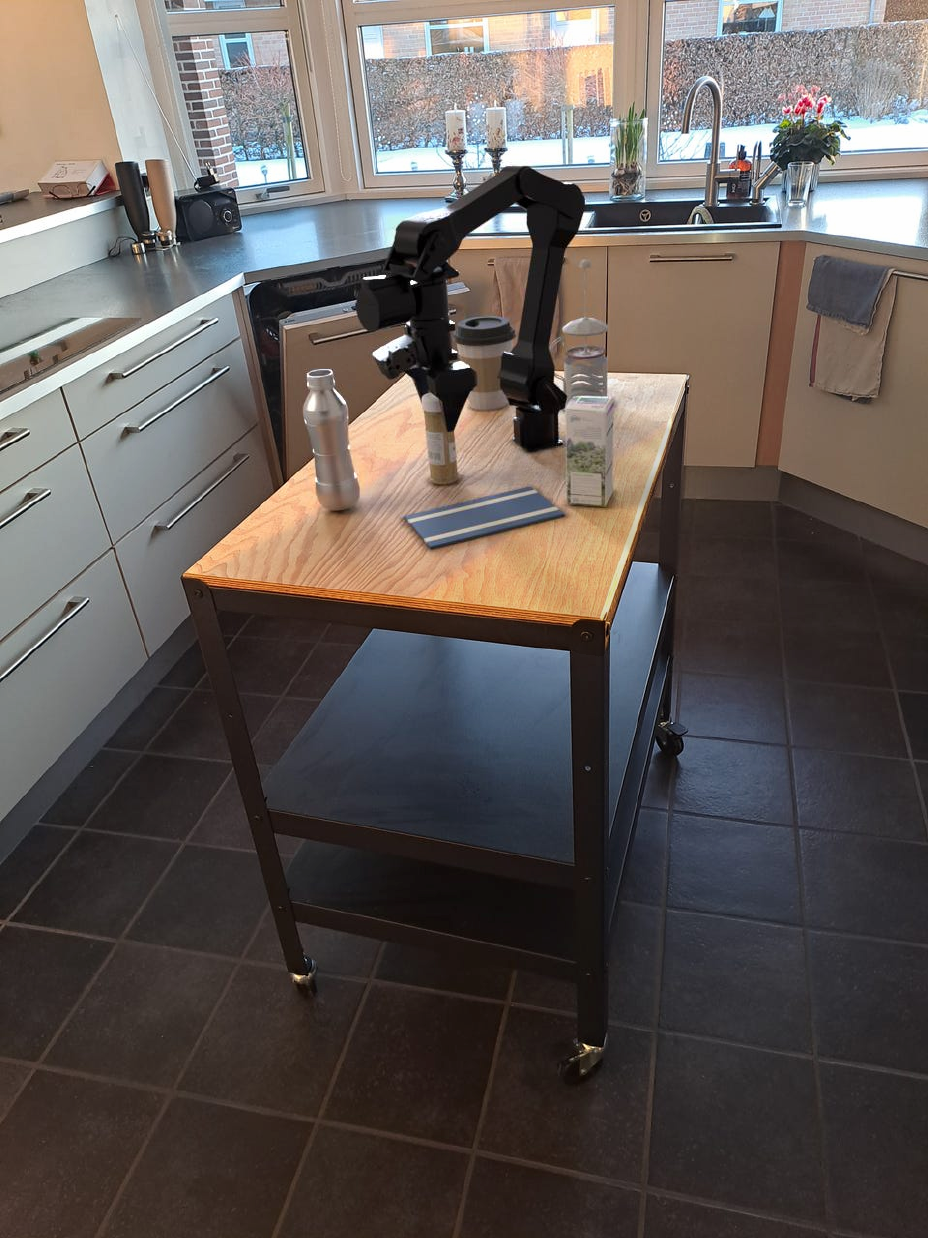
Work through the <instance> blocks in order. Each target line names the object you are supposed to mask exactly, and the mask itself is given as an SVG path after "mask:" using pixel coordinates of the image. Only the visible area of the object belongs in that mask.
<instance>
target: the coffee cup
mask: <svg viewBox="0 0 928 1238" xmlns="http://www.w3.org/2000/svg"><path fill="white" fill-rule="evenodd" d="M516 337H517V334H516V328H515V327H514V326H512V325H511V322H510V319H509V318H507V317H503V316H500V315H499V316H498V315H482V316H475V317H469V318H466V319H463V320H461V321H460V322H458V323H457V329H455V331H453V339H452V342H454V343H455V344H456V347H457V353H458V357H459V362H460V361H461V362H463V363H464V364H466V365H467V366H469V367H470V368H472V369H473V370H474V371H475V372H477V386H476V387H474V389H473V391H470V394H469V396H468V398H467V402H468V403H469V407H470V408H471V409H473V410H476V411H481V412H482V411H483V412H484V411H495V410H500V409H503V408H505V407H506V406H507V405H508V400H507V398H506V396H505V395H504V393H503V391H502V390H501V389H500V378H498V374H499V372H500V368H501V356H502V354H503V352H506V353H510V352H511V351H512V349H513V348H514V346H513V345H514V339H515V338H516Z"/></svg>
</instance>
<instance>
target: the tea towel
mask: <svg viewBox="0 0 928 1238" xmlns="http://www.w3.org/2000/svg"><path fill="white" fill-rule="evenodd" d="M561 517H565V513H564V512H563V511H562V510H561V509H560V508H558V507H557V506H556V505H555V504H553V503H552V502H551V501H550V500H548V499H547V498H546V497H544V495H542V494H541V493H539V492H538V491H537V490H536V489H535V488H533V487H532V486H530V485H529V486H526V487H521V488H517V489H513V490H508V491H505V492H500V493H496V494H492V495H487V496H483V497H477V498H475V499H471V500H466V501H462V502H457V503H454V504H449V505H445V506H441V507H435V508H433V509H428V510H424V511H423V510H422V511H419V512H415V513H410V514H407V515H404V516H403V519H404V520H405V521H406V522H407V523H408V525H409V526H410V528H412V530H414V531H415V533H416V534H417V535H418V536H419V537H420V538H421V540H422V541H423V542H424V543H425V544H426V546H427V547H428V548H429V549H431V550H433V549H437V548H440V547H445V546H448V545H453V544H457V543H461V542H466V541H469V540H474V539H477V538H481V537H485V536H488V535H494V534H497V533H501V532H505V531H510V530H514V529H518V528H521V527H525V526H530V525H533V524H537V523H542V522H546V521H550V520H553V519H557V518H561Z"/></svg>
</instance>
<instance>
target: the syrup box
mask: <svg viewBox="0 0 928 1238" xmlns="http://www.w3.org/2000/svg"><path fill="white" fill-rule="evenodd" d="M565 409H566V410H565V411H564V412H565V415H564V416H565V419H564V420H565V464H566V465H565V466H566V467H565V468H566V470H565V471H566V504H567V505H571V506H584V507H596V508H597V507H598V508H599V507H600V508H605V507H607V505H608V503H609V501H610V499H611V496H612V494H613V492H614V427H615V426H614V424H615V423H614V420H615V417H614V416H615V399H614V397H613V396H607V397H599V396H574V397H573V398H572V399H571V400H570V402H569V403H568V405H567V407H566V408H565Z"/></svg>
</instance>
